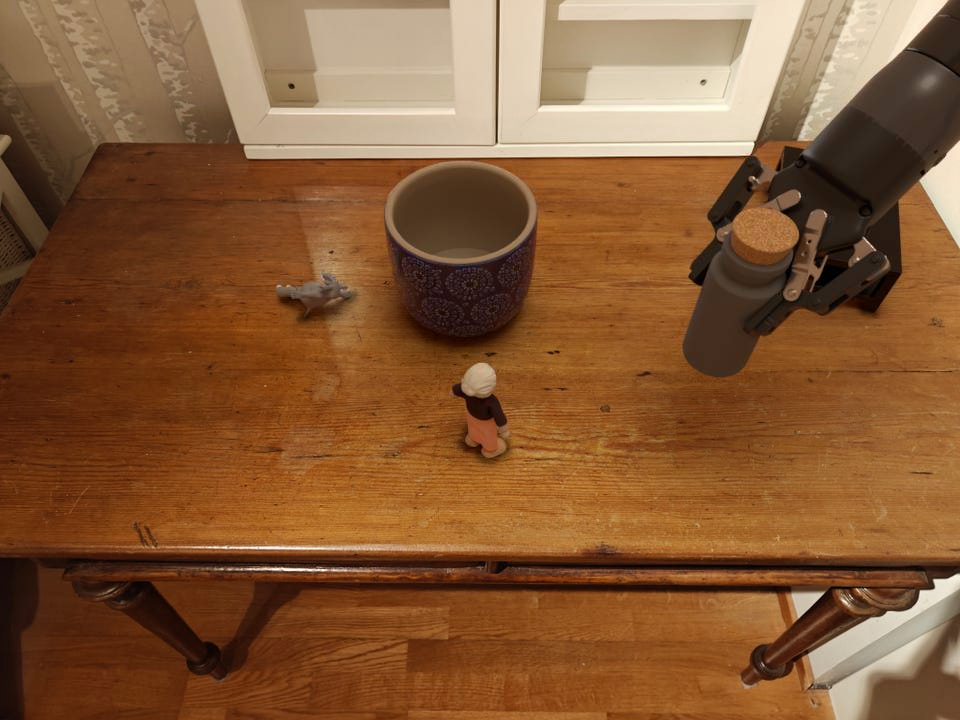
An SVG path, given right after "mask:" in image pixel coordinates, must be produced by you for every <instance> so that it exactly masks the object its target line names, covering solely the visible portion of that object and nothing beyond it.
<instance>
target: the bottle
mask: <svg viewBox="0 0 960 720" xmlns="http://www.w3.org/2000/svg"><path fill="white" fill-rule="evenodd" d="M798 238H799V231H798V228H797V226H796V225H795V223H794V222H793V221H792V220H791V219H790V218H789V217H787V216H786V215H784V214H782V213H780V212H778V211H775V210H772V209H768V208H758V207H751V208H747V209H743V210H742V211H741V212H740V213H739V214H738V215H737V216H736V217H735V219H734V221H733V225H732V230H730V231H729V232H728V233H727V235H726V236H725V238H724V241H723V244H722V248H721V251H719V252H718V253H717V254H716V255H715V256H714V258H713V259H712V261H711V263H710V266H709V269H708V271H707V274H706V277H705V280H704V282H703V285H702V286H701V287H700V291H699V294H698V297H697V299H696V303H695V304H694V305H695V306H694V309H693V311H692V313H691V318H690V319H689V322H688V325H687V328H686V331H685V334H684V337H683V341H682V346H681V347H682V354H683V357H684V359H685V360H686V361H687V363H688V364H689V365H690V366H691V367H692V368H693V369H694V370H696V371H698V372H699V373H701V374H702V375H706V376H708V377H712V378H728V377H732V376H735V375H737V374H738V373H740V372H741V371H743V370H744V369H745V367H746V365H747V363H748V362H749V360H750V358H751V356H752V354H753V352H754V350H755V348H756V346H757V343H758V342H759V340H760V338H761V335H759V336H758V337H756V338H753V337H751V336H749V335H748V334H747V333H746V332H745V331H743V327H744V325H745V324H746V323H747V322H748V321H749V320H750V319H751V318H752V317H753V316H754V315H755V314H756V313H757V312H758V311H759V310H760V309H761V308H762V307H763V306H764V305H765V304H766V303H767V302H768V301H769V300H770V299H771V298H772V297H773V296H774V295H775V294H776V293H777V294H778V295H781V294H782V293H783V291H784V289H785V286H786V284H785V283H786V272H785V271H786V270H787V268H788V267H789V265H790V263H791V261H792V258H793V247H794V246H795V244H796V243H797V241H798Z"/></svg>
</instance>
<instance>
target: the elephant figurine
mask: <svg viewBox="0 0 960 720" xmlns="http://www.w3.org/2000/svg"><path fill="white" fill-rule="evenodd" d="M324 271H325V270H324V269H322V270H321V271H320V273H319V279H320V280H321V282H318V281H308V282H304V283H303V284H302V285H301V287H299V286H298V285H294V286H292V285H290V284H286V286H283V285H281V284H277V285H276V288H275V293H276V296H277V297H278V298H288V297H289V298H291V300H294V299H296V300H297V299H299V300H300V301H301V303H302V304H303V305H304V306H305V307H306V312H305V313H304V315H303V317H302V318H303V319H305V318H306V316H307V315H308V314H309V313H310V312H311V310H313V309H314V308H320V307H323V306H325V305H326V304H328V303H330V302H331V301H332V300H337V299H339V298H343V299H347V298H351V296H353V292H352V290H348V288H349V286H348V285H346V284H341V283H339V280H337V278H336V277H335V276H334V275H333V274H332V273H331V272H332V269H330V270H329V271H328V272H325V273H324ZM322 283H323V284H324V285H323V284H322Z"/></svg>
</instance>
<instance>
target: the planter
mask: <svg viewBox="0 0 960 720" xmlns="http://www.w3.org/2000/svg"><path fill="white" fill-rule="evenodd" d="M538 210H539V209H538V204H537V200H536V197H535V196H534V193H533V192H532V190H531V189H530V188H529V186H528V185H527V184H526V183H525V181H523V180H522V179H521V178H519V177H518V176H517V175H515V174H514V173H512V172H511V171H508V170H506V169H504V168H502V167H500V166H498V165H497V166H496V165H493V164H490V163H486V162H482V161H481V162H480V161H473V160H453V161H452V160H451V161H444V162H443V161H442V162H439V163H435V164H431V165H427V166H424V167H422V168H420V169H418V170H416V171H414V172H412V173H410V174H409V175H407V176H406V177H404V178H403V179H402V180H401V181H400V182H399V183H398V184H397V185H396V186H394V188H393V189H392V190H391V191H390V193H389V195H388V196H387V199H386V201H385V205H384V209H383V221H384V223H383V224H384V232H385V240H386V247H387V252H388V258H389V263H390V269H391V273H392V274H391V275H392V277H393V282H394V285H395V288H396V291H397V294H398V297H399V300H400V301H401V303H402V305H403V306H404V308H405V310H406V311H407V313H408V314H409V315H410V316H411V317H412V318H413V319H414V320H415V321H416V322H418V323H419V324H420V325H422V326H423V327H425V328H427V329H429V330H431V331H432V332H435V333H438V334H440V335H444V336H447V337H453V338H469V337H470V338H471V337H478V336H482V335H485V334H488V333H491V332H494V331H495V330H497V329H500V328H501V327H503V326H504V325H505V324H507V323H508V322H509V321H511V319H513V318H514V317H515V316H516V315H517V313H518V312H519V311H520V310H521V308H522V307H523V305H524V303H525V301H526V300H527V297H528V295H529V291H530V288H531V283H532V280H533V273H534V268H535V261H536V260H535V259H536V250H537V240H538V224H539V217H538V215H539V213H538Z"/></svg>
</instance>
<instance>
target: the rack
mask: <svg viewBox="0 0 960 720" xmlns="http://www.w3.org/2000/svg"><path fill="white" fill-rule="evenodd" d="M805 149H806V148H800V147H795V146H789V145H784V146H783V149H782V151H781V153H780V156H779V158H778V161H777V163H776V166H775V168H774V170H775V171H777V172H779V171H781V170H783V169H785V168H787V167H789V166H791V165H792V164H794V163H795V162H796V160H797V159H798V158H799V156H800V155H801V153H802V152H803V151H804V150H805ZM769 190H770V185H769V186H767V190H766V193H767V194H769ZM899 201H900V200H899ZM899 201H898V202H897V203H896V204H895V205H894V206H892V207H891V208H890V209H889V210H888V211H887V212H886V213H885V214H884V215H883V216H882V217H881V218H880V219H879V220H878V221H877V222H875V223H874V225H873V226H872V228H871V230H870V232H869V235H868V238H867V240H868V241H869V243H870V244H871V245H872V246H873V247H874V248H875V249H876V250H877V251H880V252H882V253H883V254H884V255H885V256H886V258H887V259H888V260H889V263H890V270H889V271H888V272H887V273H886V274H885V275H883V276H882V277H880V278H879V279H878V280H876V281H875V282H873V283H872V284H871V285H869V286H868V287H866V288H865V289H864V290H862V291H861V292H859V293H858V294H856V295H855V296H854V297H852V298H851V299H853V300H857V301H864V302H865V303H864V312H868V313H873V314H875V313H876V312H877V310H878V309H879V307H880V306H881V305H882V304H883V302H884V300H885V299H886V297H887V296H888V295H889V293H890V292H891V290H892V289H893V287H894V286H895V284H896V283H897V281H898V280H899V279H900V277H901V276H902V274H903V262H902V261H903V259H902V241H901V225H900V224H901V223H900V220H901V219H900V203H899ZM854 253H855V249H852V250H848V251H844V252H839V253H835V254H831V255H828V257H827V260H826V262H825V265H824V267H823V270H822V272H821V275H820V277H819V279H818V280H816V282H815V284H814V287H813V289H812V291H815V292H817V291H818V290H820V289H821V288H823V287H824V286H825V285H827V284H828V283H829V282H831V281H832V280H833V279H835V278H836V277H838V276H839V275H840V274H842V273H843V272H844V271H846V270H847V269H848V268H849V266H848V261H849V259H850V258H851V257H852V256H853V255H854ZM795 255H796V254H795V253H794V252H793V258H792V261H791V263H790V265H789V267H788V268H787V270H786V271H785V272H786V283H785V285H786V284H787V281H788V279H789V276H790V274H791V271H792V262H793V260H794V257H795ZM815 264H816V263H815Z"/></svg>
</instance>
